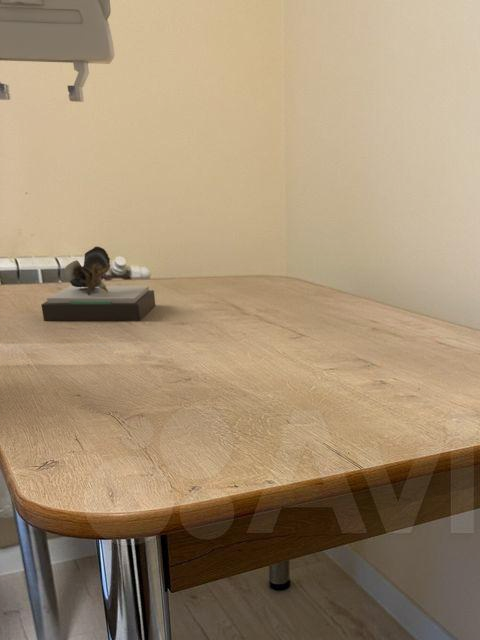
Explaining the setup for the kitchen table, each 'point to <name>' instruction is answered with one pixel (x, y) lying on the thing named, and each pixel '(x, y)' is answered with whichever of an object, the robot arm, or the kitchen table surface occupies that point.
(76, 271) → the eagle figurine
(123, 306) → the scale
